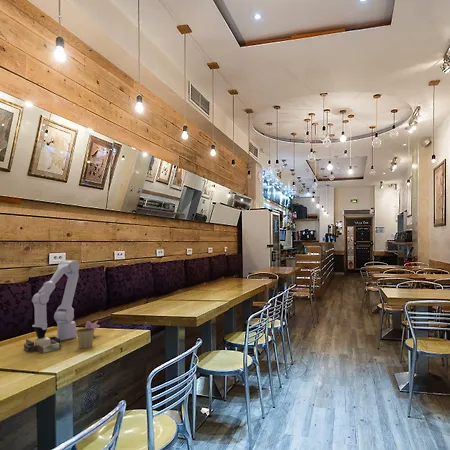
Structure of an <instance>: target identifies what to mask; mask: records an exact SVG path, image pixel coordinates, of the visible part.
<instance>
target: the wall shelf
mask: <svg viewBox="0 0 450 450" xmlns="http://www.w3.org/2000/svg"><path fill="white" fill-rule="evenodd" d="M45 337H46V336H45ZM45 337H44V338H45ZM47 337H48V336H47ZM48 338H50V339H51V345H46V346H43V347H41V346H40V345H35V341H32V340H31V339H29V338H26V339H25V343H24V344H23V349H24V350H25V351H26V352H27V353H30V352H38V353H39V352H40V353H41V354H44V353H49V352H53V351H58V350H61V349H62V344H61V340H60V338H58V336H55V335H54V336H49V337H48Z"/></svg>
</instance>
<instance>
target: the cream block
mask: <svg viewBox="0 0 450 450" xmlns="http://www.w3.org/2000/svg"><path fill="white" fill-rule="evenodd" d="M35 345H40V346H41V347H43V346H46V345H51V339H50V338H48V336H45V338H40V339H38V338H35V339H34V346H35Z"/></svg>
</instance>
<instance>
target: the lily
mask: <svg viewBox="0 0 450 450" xmlns="http://www.w3.org/2000/svg"><path fill="white" fill-rule="evenodd" d="M98 321H99V320H95V321H94V322H93V323H92V322H91V321H90V320H87V321H86V323H85V325H84V326H85V327H84V328H95V330H96V329H98V328H99V327H100V326H101V325H100V324H97V323H98ZM95 338H96V337H95V334H93V339H95Z"/></svg>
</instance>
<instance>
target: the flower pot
mask: <svg viewBox="0 0 450 450" xmlns="http://www.w3.org/2000/svg"><path fill="white" fill-rule="evenodd" d="M95 330H96V329H95V328H86V327H84V328H83V327H82V328H77V329H76V336H77V340H78V347H79V348H80V349H82V348H83V349H88V348H91V347H92V346H93V342H94V341H93V340H94V335H95V334H94V333H95ZM93 334H94V335H93Z"/></svg>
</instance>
